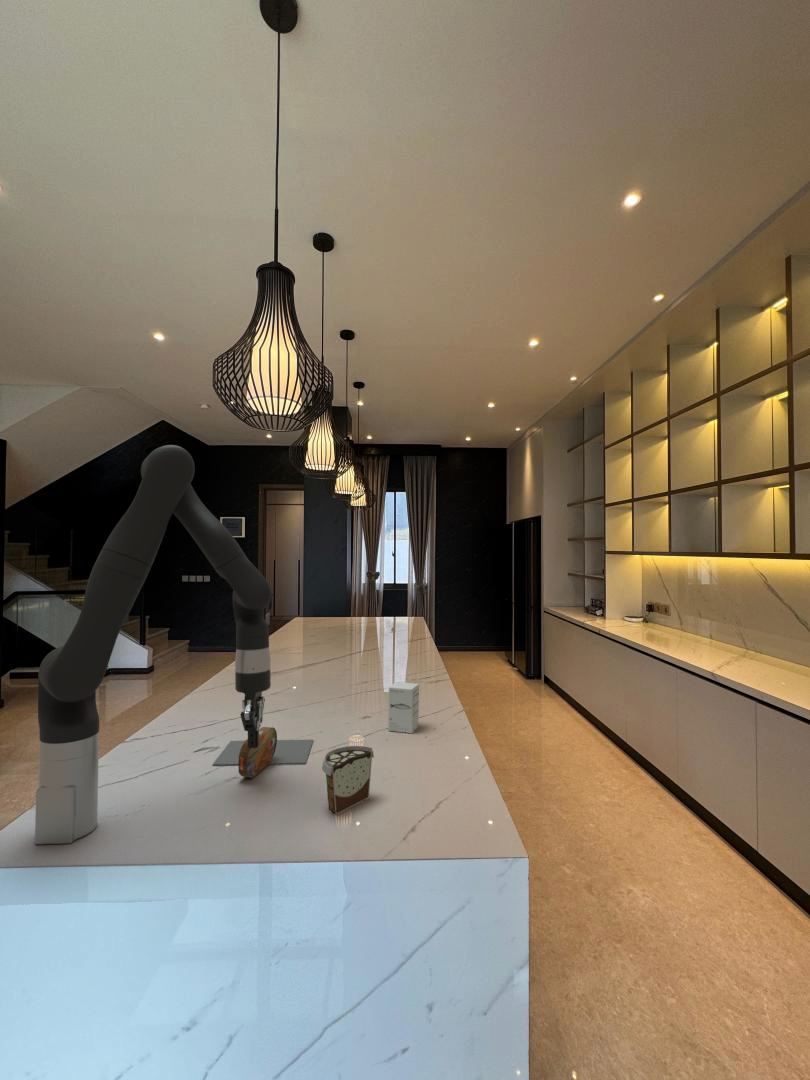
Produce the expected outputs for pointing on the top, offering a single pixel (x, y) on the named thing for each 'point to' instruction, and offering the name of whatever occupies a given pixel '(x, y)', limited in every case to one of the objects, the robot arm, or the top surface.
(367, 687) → the top surface
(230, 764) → the mat
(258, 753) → the tin
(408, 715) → the supplement box
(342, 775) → the food container
